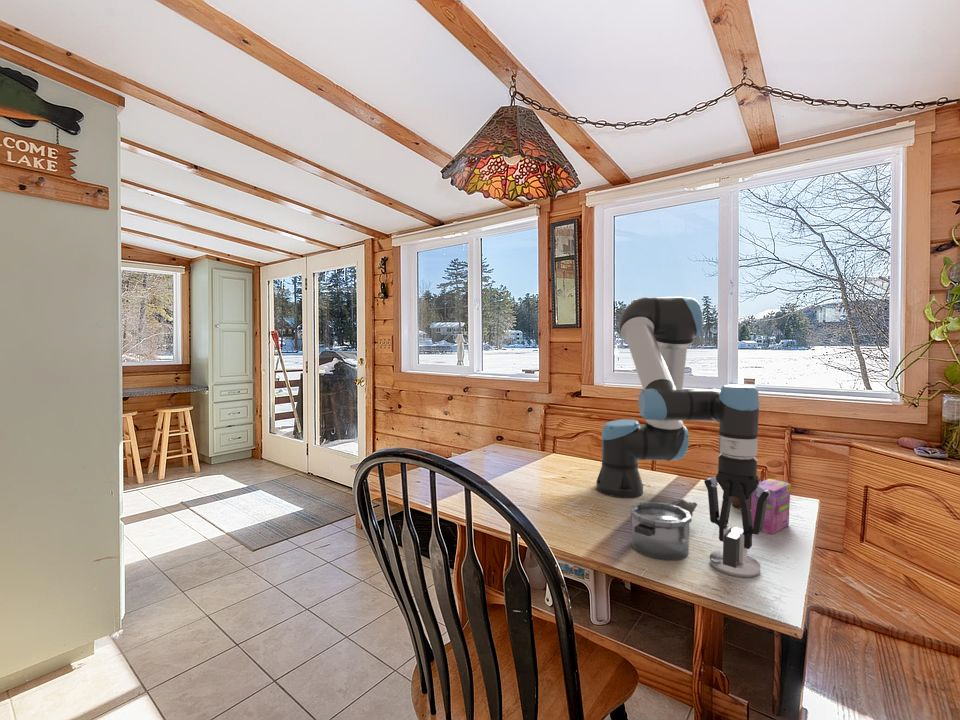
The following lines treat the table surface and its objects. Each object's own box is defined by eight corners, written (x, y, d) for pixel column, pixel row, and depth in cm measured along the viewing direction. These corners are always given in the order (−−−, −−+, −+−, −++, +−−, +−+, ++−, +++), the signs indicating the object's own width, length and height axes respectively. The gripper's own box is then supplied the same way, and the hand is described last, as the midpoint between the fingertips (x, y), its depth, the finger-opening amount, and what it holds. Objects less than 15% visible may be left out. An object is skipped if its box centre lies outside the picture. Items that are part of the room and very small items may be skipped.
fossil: (678, 516, 136) (679, 488, 136) (705, 527, 128) (706, 498, 128) (649, 522, 131) (650, 494, 131) (675, 535, 123) (676, 504, 123)
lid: (702, 566, 106) (703, 532, 106) (719, 552, 113) (719, 520, 113) (752, 583, 99) (753, 546, 99) (766, 567, 106) (767, 533, 106)
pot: (614, 550, 114) (615, 514, 114) (650, 529, 127) (651, 496, 126) (670, 570, 104) (671, 530, 104) (702, 545, 117) (703, 509, 117)
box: (772, 535, 123) (774, 490, 123) (749, 528, 128) (751, 484, 127) (789, 525, 129) (791, 483, 129) (767, 519, 134) (768, 478, 133)
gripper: (694, 451, 108) (692, 552, 109) (773, 465, 97) (769, 577, 98) (707, 446, 113) (704, 542, 114) (783, 458, 102) (779, 565, 103)
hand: (734, 558), depth 106 cm, fingers closed on lid, 3 cm apart
